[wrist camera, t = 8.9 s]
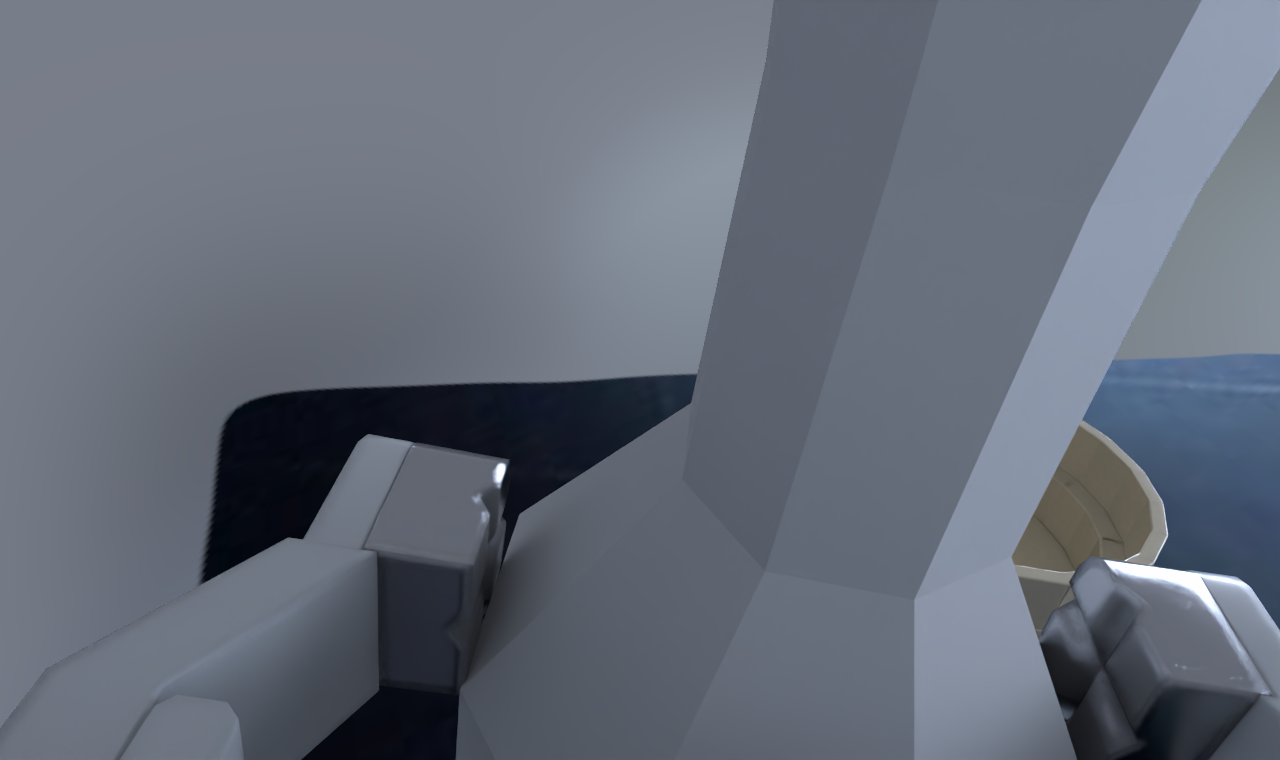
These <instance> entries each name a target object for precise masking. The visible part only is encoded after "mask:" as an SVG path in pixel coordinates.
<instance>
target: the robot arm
mask: <svg viewBox="0 0 1280 760" xmlns="http://www.w3.org/2000/svg"><path fill="white" fill-rule="evenodd" d="M510 467H511V465H510V461H509V460H508V459H502V458H497V457H492V456H486V455H481V454H476V453H470V452H465V451H460V450H454V449H449V448H444V447H438V446H433V445H428V444H422V443H417V442H416V443H415V444H414V443H412V442H408V441H403V440H397V439H392V438H386V437H381V436H375V435H370V434H368V435H367V436H365V437H364V438H363V439H361V440H360V441H359V442H358V443H357V445H356V446H355V448H354V450H353V452H352V454H351V455H350V457H349V459H348V461H347V462H346V464H345V466H344V468H343V470H342V471H341V473H340V475H339V477H338V478H337V480H336V482H335V484H334V486H333V487H332V489H331V491H330V493H329V494H328V496H327V498H326V500H325V502H324V503H323V505H322V507H321V509H320V510H319V512H318V514H317V516H316V518H315V519H314V521H313V523H312V525H311V527H310V528H309V530H308V532H307V534H306V535H305V537H304V539H303V540H301V539H294V538H287V539H285V540H283V541H281V542H279V543H277V544H275V545H274V546H272V547H270V548H268V549H266V550H264V551H263V552H261V553H259V554H257V555H255V556H253V557H251V558H250V559H248V560H246V561H244V562H242V563H240V564H239V565H237V566H235V567H233V568H231V569H229V570H227V571H226V572H224V573H222V574H220V575H218V576H216V577H215V578H213V579H211V580H209V581H207V582H205V583H203V584H202V585H200V586H198V587H196V588H194V589H192V590H191V591H189V592H187V593H185V594H183V595H181V596H179V597H178V598H176V599H174V600H172V601H170V602H169V603H167V604H165V605H163V606H161V607H159V608H157V609H156V610H154V611H152V612H150V613H148V614H146V615H145V616H143V617H141V618H139V619H137V620H135V621H133V622H132V623H130V624H128V625H126V626H124V627H122V628H120V629H119V630H117V631H115V632H113V633H111V634H110V635H108V636H106V637H104V638H102V639H100V640H98V641H97V642H95V643H93V644H91V645H89V646H87V647H85V648H84V649H82V650H80V651H78V652H76V653H74V654H73V655H71V656H69V657H67V658H65V659H63V660H61V661H60V662H58V663H56V664H54V665H52V666H50V667H48V668H47V669H46V670H45V671H44V673H43V674H42V675H41V676H40V678H39V679H38V680H37V681H36V683H35V684H34V685H33V687H32V688H31V689H30V691H29V692H28V693H27V694H26V696H25V697H24V698H23V699H22V701H21V702H20V703H19V705H18V706H17V707H16V709H15V710H14V711H13V712H12V714H11V715H10V716H9V718H8V719H7V720H6V722H5V723H4V724H3V725H2V727H1V728H0V760H301V759H302V758H303V757H304V756H306V755H307V754H308V753H309V752H310V751H311V750H312V749H313V748H315V747H316V746H317V745H318V744H319V743H320V742H321V741H322V740H324V739H325V738H326V737H327V736H328V735H329V734H330V733H331V732H333V731H334V730H335V729H336V728H337V727H338V726H339V725H340V724H342V723H343V722H344V721H345V720H346V719H347V718H348V717H349V716H351V715H352V714H353V713H354V712H355V711H356V710H357V709H359V708H360V707H361V706H362V705H363V704H364V703H365V702H366V701H368V700H369V699H370V698H371V697H372V696H373V695H374V694H375V693H377V692H378V691H379V685H382V686H389V687H397V688H404V689H412V690H420V691H427V692H435V693H442V694H450V695H458V696H460V688H461V685H463V684H464V683H465V682H466V680H467V676H468V673H469V670H470V666H471V663H472V660H473V657H474V653H475V650H476V647H477V643H478V640H479V637H480V633H481V628H482V617H483V614H484V613H485V612H487V609H488V606H489V603H490V600H491V597H492V594H493V591H494V588H495V585H496V582H497V579H498V574H499V569H500V565H501V559H502V553H503V546H504V539H505V529H506V521H505V520H504V519H503V517H502V513H503V509H504V506H505V502H506V499H507V496H508V492H509V483H510ZM1069 584H1070V587H1071V590H1072V592H1073V595H1074V598H1075V599H1074V600H1072V601H1070V602H1068V603H1066V604H1065V605H1063V606H1061V607H1059V608H1057V609H1056V610H1054V611H1052V612H1051V614H1050V616H1049V618H1048V620H1047V622H1046V624H1045V626H1044V628H1043V630H1042V632H1041V634H1040V641H1039V643H1040V646H1041V649H1042V653H1043V656H1044V659H1045V662H1046V665H1047V668H1048V671H1049V674H1050V677H1051V680H1052V683H1053V686H1054V690H1055V693H1056V696H1057V699H1058V702H1059V705H1060V708H1061V711H1062V714H1063V716H1064V717H1065V718H1066V719H1067V722H1066V727H1067V730H1068V733H1069V736H1070V739H1071V742H1072V745H1073V748H1074V751H1075V754H1076V757H1077V760H1280V630H1279V629H1278V627H1277V626H1276V624H1275V623H1274V621H1273V620H1272V618H1271V617H1270V615H1269V614H1268V613H1267V611H1266V610H1265V608H1264V607H1263V605H1262V604H1261V602H1260V601H1259V599H1258V598H1257V596H1256V595H1255V593H1254V592H1253V590H1252V589H1251V587H1250V586H1248V585H1247V584H1246V583H1244V582H1243V581H1241V580H1240V579H1238V578H1237V577H1233V576H1226V575H1219V574H1212V573H1205V572H1198V571H1191V570H1187V571H1181V570H1176V569H1170V568H1164V567H1158V566H1151V565H1145V564H1139V563H1132V562H1126V561H1120V560H1113V559H1107V558H1101V557H1095V556H1091V557H1089V558H1088V559H1087V560H1085V561H1084V562H1083V563H1081V564H1080V565H1079V566H1078V568H1077V569H1076V571H1075V573H1074V574H1073V576H1072V578H1071V579H1070V581H1069Z"/></svg>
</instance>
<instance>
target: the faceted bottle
mask: <svg viewBox="0 0 1280 760" xmlns="http://www.w3.org/2000/svg"><path fill="white" fill-rule="evenodd" d="M1279 68H1280V0H774V3H773V11H772V18H771V26H770V34H769V43H768V49H767V57H766V63H765V68H764V72H763V77H762V81H761V86H760V91H759V95H758V100H757V104H756V109H755V113H754V118H753V123H752V127H751V132H750V136H749V141H748V146H747V150H746V155H745V160H744V164H743V169H742V173H741V178H740V183H739V187H738V191H737V196H736V200H735V205H734V210H733V214H732V219H731V223H730V228H729V232H728V237H727V242H726V247H725V251H724V256H723V260H722V265H721V269H720V274H719V278H718V283H717V288H716V293H715V297H714V301H713V306H712V310H711V315H710V319H709V324H708V329H707V333H706V338H705V342H704V347H703V351H702V356H701V361H700V365H699V370H698V374H697V379H696V383H695V388H694V393H693V397H692V402H691V404H689V405H688V406H686V407H684V408H683V409H681V410H680V411H678V412H677V413H675V414H674V415H672V416H671V417H669V418H667V419H666V420H664V421H663V422H661V423H660V424H658V425H657V426H655V427H654V428H652V429H650V430H649V431H647V432H646V433H644V434H643V435H641V436H640V437H638V438H637V439H635V440H633V441H632V442H630V443H629V444H627V445H626V446H624V447H623V448H621V449H620V450H618V451H616V452H615V453H613V454H612V455H610V456H609V457H607V458H606V459H604V460H603V461H601V462H599V463H598V464H596V465H595V466H593V467H592V468H590V469H589V470H587V471H586V472H584V473H582V474H581V475H579V476H578V477H576V478H575V479H573V480H572V481H570V482H569V483H567V484H565V485H564V486H562V487H561V488H559V489H558V490H556V491H555V492H553V493H552V494H550V495H548V496H547V497H545V498H544V499H542V500H541V501H539V502H538V503H536V504H535V505H533V506H531V507H530V508H528V509H527V510H525V511H524V512H522V513H521V514H520V515H519V518H518V521H517V524H516V527H515V530H514V532H513V535H512V538H511V541H510V544H509V547H508V550H507V553H506V556H505V559H504V562H503V565H502V568H501V571H500V574H499V577H498V580H497V582H496V585H495V588H494V591H493V594H492V597H491V600H490V603H489V606H488V609H487V612H486V615H485V618H484V621H483V624H482V628H481V633H480V637H479V640H478V643H477V647H476V650H475V653H474V657H473V660H472V663H471V666H470V670H469V673H468V676H467V680H466V682H465V683H464V684H463V685H461V688H460V698H459V715H458V732H457V749H456V760H1077V757H1076V754H1075V751H1074V748H1073V745H1072V742H1071V739H1070V736H1069V733H1068V730H1067V727H1066V724H1065V720H1064V717H1063V714H1062V711H1061V708H1060V705H1059V702H1058V699H1057V696H1056V693H1055V690H1054V686H1053V683H1052V680H1051V677H1050V674H1049V671H1048V668H1047V665H1046V662H1045V659H1044V656H1043V653H1042V649H1041V646H1040V643H1039V640H1038V637H1037V634H1036V631H1035V628H1034V625H1033V622H1032V619H1031V616H1030V612H1029V609H1028V606H1027V603H1026V600H1025V597H1024V594H1023V591H1022V588H1021V585H1020V582H1019V579H1018V576H1017V572H1016V569H1015V566H1014V563H1013V560H1012V557H1011V556H1012V555H1013V553H1014V551H1015V549H1016V547H1017V545H1018V543H1019V541H1020V539H1021V537H1022V535H1023V533H1024V531H1025V529H1026V527H1027V525H1028V523H1029V522H1030V520H1031V518H1032V516H1033V514H1034V512H1035V510H1036V508H1037V506H1038V504H1039V502H1040V500H1041V498H1042V496H1043V494H1044V492H1045V490H1046V489H1047V487H1048V485H1049V483H1050V481H1051V479H1052V477H1053V475H1054V473H1055V471H1056V469H1057V467H1058V465H1059V463H1060V461H1061V459H1062V457H1063V456H1064V454H1065V452H1066V450H1067V448H1068V446H1069V444H1070V442H1071V440H1072V438H1073V436H1074V434H1075V432H1076V430H1077V428H1078V426H1079V424H1080V423H1081V421H1082V419H1083V417H1084V415H1085V413H1086V411H1087V409H1088V407H1089V405H1090V403H1091V401H1092V399H1093V397H1094V395H1095V393H1096V391H1097V390H1098V388H1099V386H1100V384H1101V382H1102V380H1103V378H1104V376H1105V374H1106V372H1107V370H1108V368H1109V366H1110V364H1111V362H1112V360H1113V358H1114V356H1115V354H1116V353H1117V351H1118V349H1119V347H1120V344H1121V343H1122V341H1123V339H1124V337H1125V335H1126V333H1127V331H1128V329H1129V327H1130V325H1131V324H1132V321H1133V319H1134V318H1135V316H1136V314H1137V312H1138V310H1139V308H1140V306H1141V304H1142V302H1143V300H1144V298H1145V296H1146V294H1147V292H1148V290H1149V289H1150V287H1151V285H1152V283H1153V281H1154V279H1155V277H1156V275H1157V273H1158V271H1159V269H1160V267H1161V265H1162V263H1163V261H1164V259H1165V257H1166V256H1167V253H1168V252H1169V250H1170V248H1171V246H1172V244H1173V242H1174V240H1175V238H1176V236H1177V234H1178V232H1179V230H1180V228H1181V226H1182V225H1183V222H1184V221H1185V219H1186V217H1187V215H1188V213H1189V211H1190V209H1191V207H1192V205H1193V203H1194V201H1195V199H1196V197H1197V195H1198V193H1199V191H1200V190H1201V189H1202V187H1203V185H1204V184H1205V182H1206V181H1207V179H1208V178H1209V176H1210V175H1211V173H1212V172H1213V170H1214V168H1215V167H1216V165H1217V164H1218V162H1219V161H1220V159H1221V158H1222V156H1223V154H1224V153H1225V151H1226V150H1227V148H1228V147H1229V145H1230V144H1231V142H1232V141H1233V139H1234V138H1235V136H1236V134H1237V133H1238V131H1239V130H1240V128H1241V127H1242V125H1243V124H1244V122H1245V121H1246V119H1247V117H1248V116H1249V114H1250V113H1251V111H1252V110H1253V108H1254V107H1255V105H1256V104H1257V102H1258V101H1259V99H1260V97H1261V96H1262V94H1263V93H1264V91H1265V90H1266V88H1267V87H1268V85H1269V83H1270V82H1271V80H1272V79H1273V77H1274V76H1275V74H1276V73H1277V71H1278V70H1279Z"/></svg>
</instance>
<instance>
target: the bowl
mask: <svg viewBox="0 0 1280 760" xmlns="http://www.w3.org/2000/svg"><path fill="white" fill-rule="evenodd" d="M1167 538H1168V531H1167V524H1166V517H1165V510H1164V504H1163V501H1162V500H1161V498H1160V497H1159V495H1158V493H1157V492H1156V490H1155V488H1154V487H1153V485H1152V484H1151V482H1150V480H1149V479H1148V477H1147V475H1146V474H1145V472H1144V471H1143V470H1142V469H1141V468H1140V467H1139V466H1138V465H1137V464H1136V463H1135V462H1134V461H1133V460H1132V459H1131V458H1130V457H1129V456H1128V455H1127V454H1126V453H1125V452H1124V451H1123V450H1122V449H1121V448H1120V447H1118V446H1117V445H1116V444H1115V443H1114V442H1113V441H1112V440H1111V439H1110V438H1108V437H1107V436H1105V435H1104V434H1103V433H1101V432H1100V431H1098V430H1097V429H1095V428H1094V427H1092V426H1091V425H1089V424H1088V423H1086V422H1085V421H1083V420H1082V421H1081V423H1080V424H1079V426H1078V428H1077V430H1076V432H1075V434H1074V436H1073V438H1072V440H1071V442H1070V444H1069V446H1068V448H1067V450H1066V452H1065V454H1064V456H1063V457H1062V459H1061V461H1060V463H1059V465H1058V467H1057V469H1056V471H1055V473H1054V475H1053V477H1052V479H1051V481H1050V483H1049V485H1048V487H1047V489H1046V490H1045V492H1044V494H1043V496H1042V498H1041V500H1040V502H1039V504H1038V506H1037V508H1036V510H1035V512H1034V514H1033V516H1032V518H1031V520H1030V522H1029V523H1028V525H1027V527H1026V529H1025V531H1024V533H1023V535H1022V537H1021V539H1020V541H1019V543H1018V545H1017V547H1016V549H1015V551H1014V553H1013V555H1012V556H1011V557H1012V560H1013V563H1014V566H1015V569H1016V572H1017V576H1018V579H1019V582H1020V585H1021V588H1022V591H1023V594H1024V597H1025V600H1026V603H1027V606H1028V609H1029V612H1030V616H1031V619H1032V622H1033V625H1034V628H1035V631H1036V634H1037V637H1038V640H1039V641H1040V634H1041V632H1042V630H1043V628H1044V626H1045V624H1046V622H1047V620H1048V618H1049V616H1050V614H1051V612H1052V611H1054V610H1056V609H1057V608H1059V607H1061V606H1063V605H1065V604H1066V603H1068V602H1070V601H1072V600H1074V599H1075V598H1074V595H1073V592H1072V590H1071V587H1070V584H1069V581H1070V579H1071V578H1072V576H1073V574H1074V573H1075V571H1076V569H1077V568H1078V566H1079V565H1080V564H1081V563H1083V562H1084V561H1085V560H1087V559H1088V558H1089V557H1091V556H1095V557H1101V558H1107V559H1113V560H1120V561H1126V562H1132V563H1139V564H1145V565H1151V566H1153V565H1154V563H1155V561H1156V559H1157V557H1158V555H1159V554H1160V552H1161V550H1162V548H1163V546H1164V544H1165V542H1166V540H1167Z"/></svg>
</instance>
